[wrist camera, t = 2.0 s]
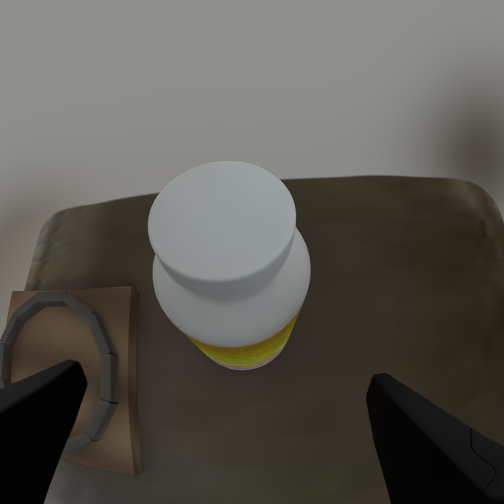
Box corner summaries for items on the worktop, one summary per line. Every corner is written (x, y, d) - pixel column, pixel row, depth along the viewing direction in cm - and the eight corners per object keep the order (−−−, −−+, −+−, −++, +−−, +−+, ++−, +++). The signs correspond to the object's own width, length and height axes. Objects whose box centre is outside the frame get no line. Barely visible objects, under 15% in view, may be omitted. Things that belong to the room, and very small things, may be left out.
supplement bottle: (306, 347, 19) (372, 260, 8) (217, 385, 18) (145, 357, 6) (265, 268, 22) (269, 126, 11) (184, 301, 21) (109, 180, 10)
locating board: (142, 471, 14) (127, 479, 12) (13, 435, 14) (-6, 433, 11) (138, 293, 21) (125, 279, 19) (21, 297, 21) (4, 286, 18)
